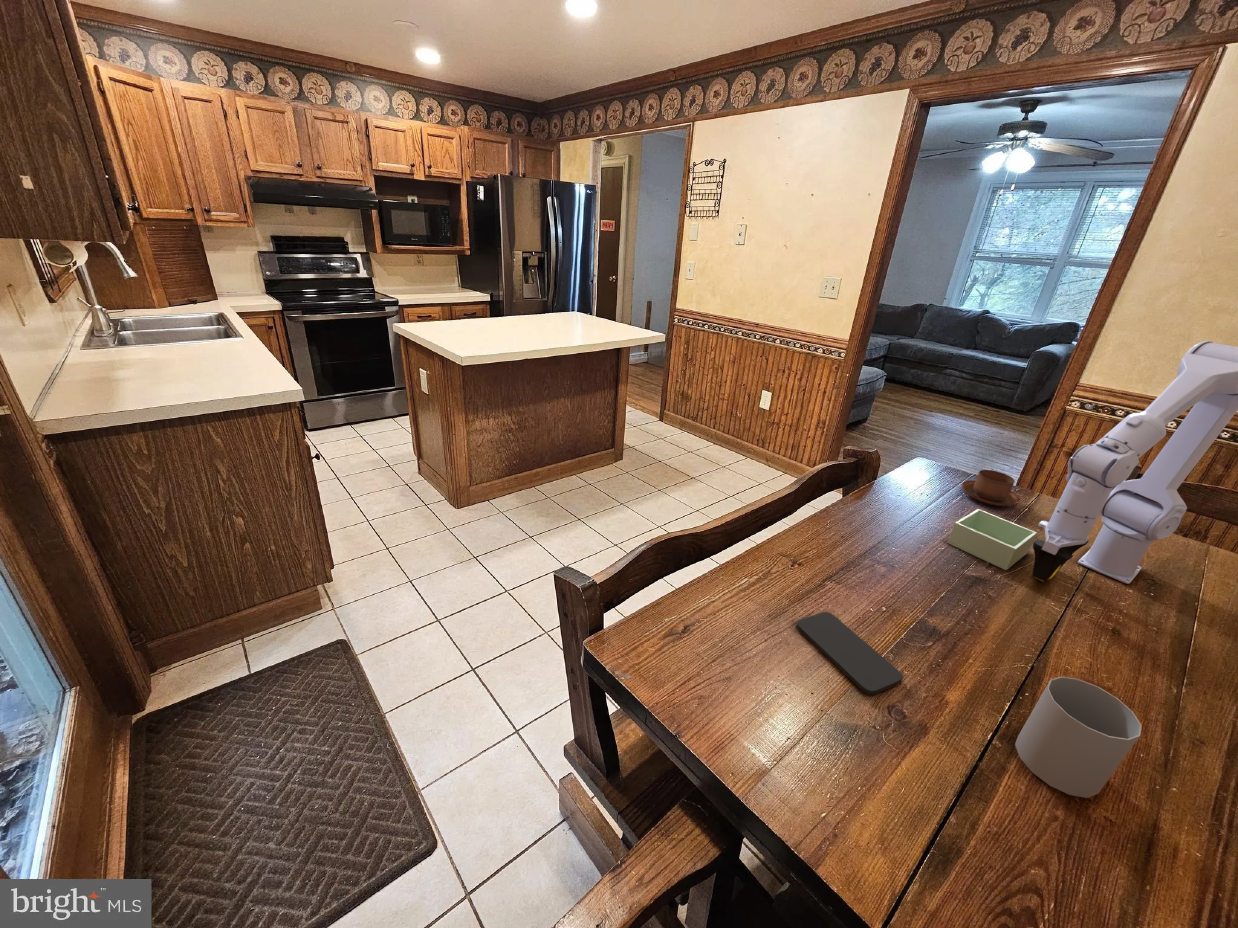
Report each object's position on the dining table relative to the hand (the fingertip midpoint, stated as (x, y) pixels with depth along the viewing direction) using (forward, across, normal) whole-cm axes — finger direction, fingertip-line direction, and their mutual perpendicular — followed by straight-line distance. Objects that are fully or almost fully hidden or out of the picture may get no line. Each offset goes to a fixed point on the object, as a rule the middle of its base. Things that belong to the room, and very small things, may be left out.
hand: (1045, 572), depth 97 cm
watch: (+2, 0, 0) cm, 2 cm away
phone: (+1, +50, -10) cm, 51 cm away
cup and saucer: (+2, -27, -20) cm, 34 cm away
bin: (+1, -2, -10) cm, 11 cm away
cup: (+2, +44, +15) cm, 47 cm away
